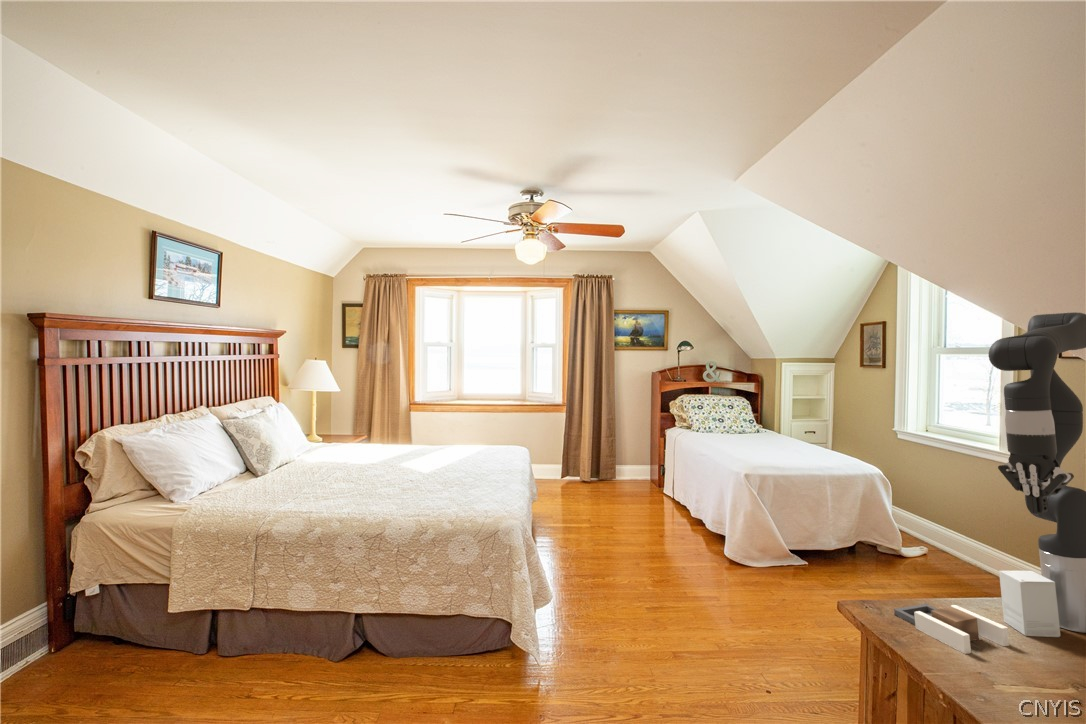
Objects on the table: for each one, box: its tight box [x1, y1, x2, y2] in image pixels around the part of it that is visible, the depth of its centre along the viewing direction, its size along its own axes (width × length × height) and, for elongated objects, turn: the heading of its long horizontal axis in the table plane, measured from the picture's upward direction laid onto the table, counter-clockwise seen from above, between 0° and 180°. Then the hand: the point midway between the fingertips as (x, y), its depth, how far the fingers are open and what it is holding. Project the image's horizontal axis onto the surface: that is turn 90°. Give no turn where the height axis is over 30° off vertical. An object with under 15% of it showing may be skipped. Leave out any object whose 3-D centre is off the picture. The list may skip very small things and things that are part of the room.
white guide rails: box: [914, 604, 1010, 655], centre depth 118 cm, size 12×12×4 cm
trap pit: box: [893, 603, 938, 626], centre depth 128 cm, size 10×6×2 cm, turn 101°
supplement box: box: [998, 570, 1061, 638], centre depth 120 cm, size 7×7×13 cm
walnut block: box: [931, 606, 980, 642], centre depth 119 cm, size 6×6×5 cm
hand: (1037, 513), depth 106 cm, fingers closed
